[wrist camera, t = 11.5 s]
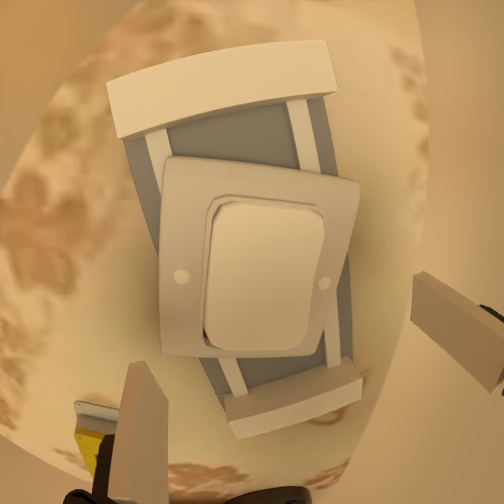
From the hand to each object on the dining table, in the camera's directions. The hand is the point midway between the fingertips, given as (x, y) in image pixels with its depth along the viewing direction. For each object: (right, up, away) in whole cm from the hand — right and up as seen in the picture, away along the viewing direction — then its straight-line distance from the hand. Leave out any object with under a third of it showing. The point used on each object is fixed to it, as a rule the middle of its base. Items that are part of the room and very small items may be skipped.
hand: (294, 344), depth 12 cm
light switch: (-2, +3, +6) cm, 7 cm away
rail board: (-1, +3, +7) cm, 8 cm away
